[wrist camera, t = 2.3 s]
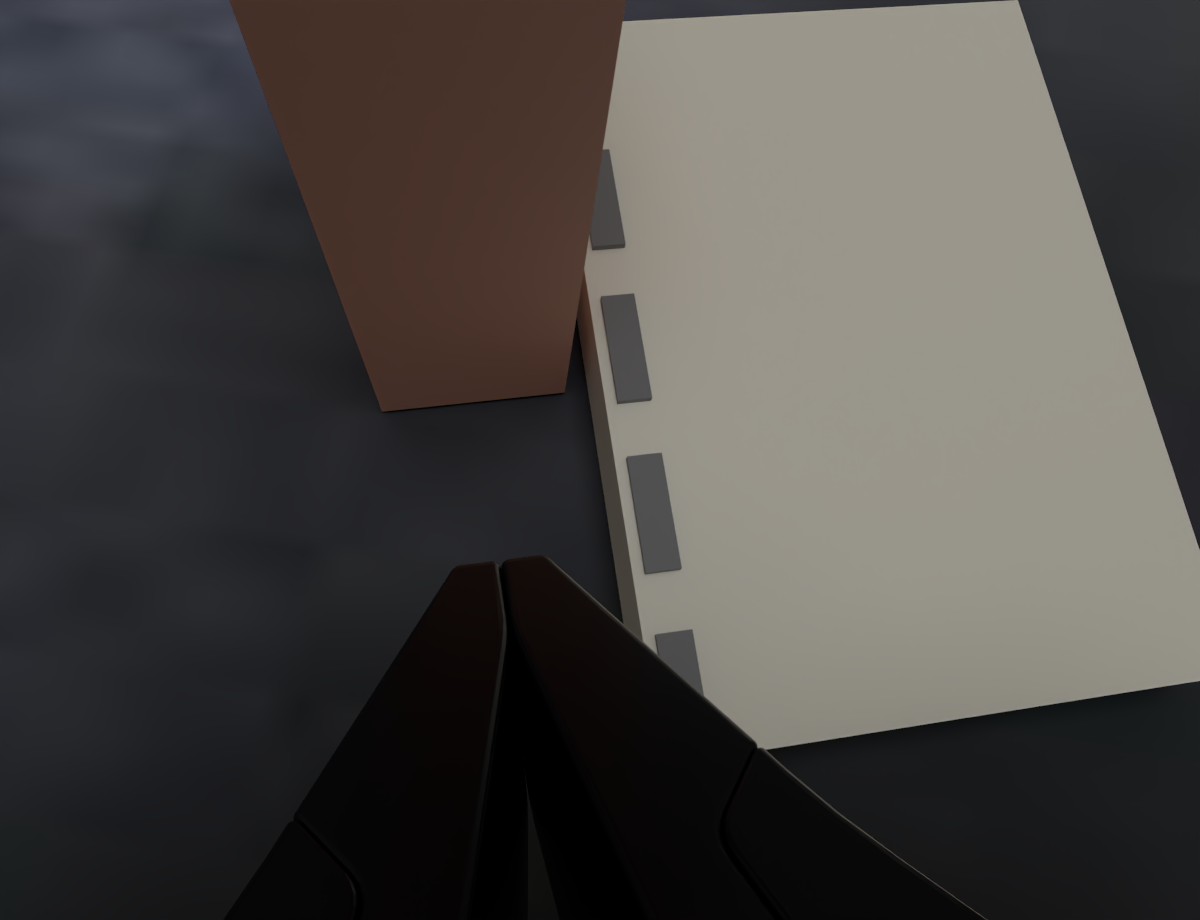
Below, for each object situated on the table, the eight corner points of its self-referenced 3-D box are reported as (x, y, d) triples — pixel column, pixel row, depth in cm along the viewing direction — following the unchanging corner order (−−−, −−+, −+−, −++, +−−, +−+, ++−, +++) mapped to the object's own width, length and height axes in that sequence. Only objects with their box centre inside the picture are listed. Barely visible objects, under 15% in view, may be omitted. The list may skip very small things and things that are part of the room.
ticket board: (1162, 682, 18) (1247, 673, 16) (645, 764, 17) (664, 766, 15) (973, 65, 22) (1021, -6, 20) (542, 93, 21) (545, 20, 18)
